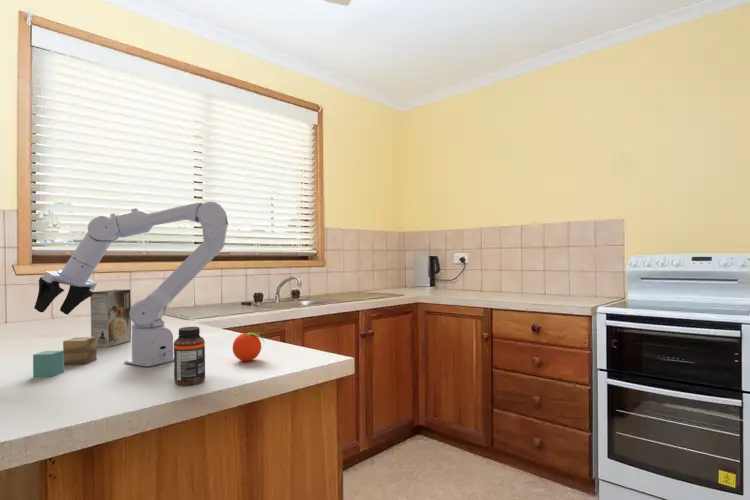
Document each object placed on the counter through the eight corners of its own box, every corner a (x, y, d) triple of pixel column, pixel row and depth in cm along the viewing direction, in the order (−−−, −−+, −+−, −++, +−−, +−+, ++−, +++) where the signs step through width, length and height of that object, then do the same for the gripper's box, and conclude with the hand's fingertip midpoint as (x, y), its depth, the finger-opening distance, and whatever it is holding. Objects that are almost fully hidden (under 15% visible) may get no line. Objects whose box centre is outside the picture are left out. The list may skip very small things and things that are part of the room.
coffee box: (114, 340, 142) (113, 289, 142) (131, 341, 141) (131, 289, 141) (90, 346, 133) (89, 291, 133) (108, 347, 132) (108, 291, 132)
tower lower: (84, 365, 110) (84, 353, 110) (63, 365, 110) (63, 353, 110) (96, 360, 115) (96, 348, 115) (76, 360, 115) (76, 349, 115)
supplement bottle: (179, 379, 96) (179, 325, 96) (208, 378, 97) (208, 325, 97) (169, 387, 90) (169, 330, 91) (200, 386, 91) (199, 329, 91)
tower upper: (84, 352, 111) (84, 340, 111) (63, 353, 110) (63, 341, 110) (96, 348, 116) (96, 336, 116) (75, 349, 115) (75, 337, 115)
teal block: (51, 377, 99) (51, 354, 99) (33, 377, 99) (33, 354, 99) (63, 372, 103) (63, 350, 103) (45, 372, 103) (45, 350, 103)
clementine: (269, 357, 116) (269, 329, 116) (259, 364, 109) (259, 334, 109) (239, 357, 116) (239, 329, 117) (227, 364, 110) (227, 334, 110)
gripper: (92, 259, 117) (62, 305, 115) (47, 247, 103) (12, 300, 101) (113, 272, 116) (83, 319, 114) (70, 262, 102) (35, 315, 100)
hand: (51, 311), depth 108 cm, fingers open, 7 cm apart
